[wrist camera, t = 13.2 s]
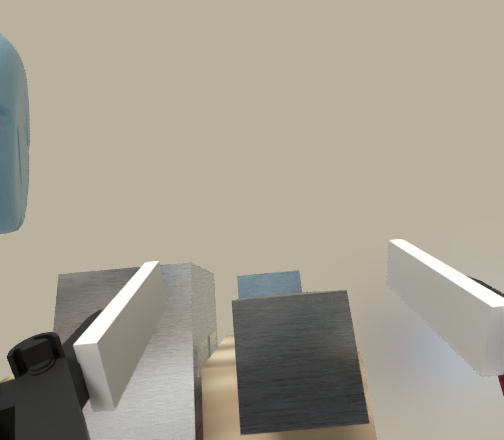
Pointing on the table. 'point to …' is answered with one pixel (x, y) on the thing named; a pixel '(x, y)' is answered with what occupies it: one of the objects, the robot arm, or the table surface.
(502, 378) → the juice carton
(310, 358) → the bar
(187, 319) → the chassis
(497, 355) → the robot arm
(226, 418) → the birch block
